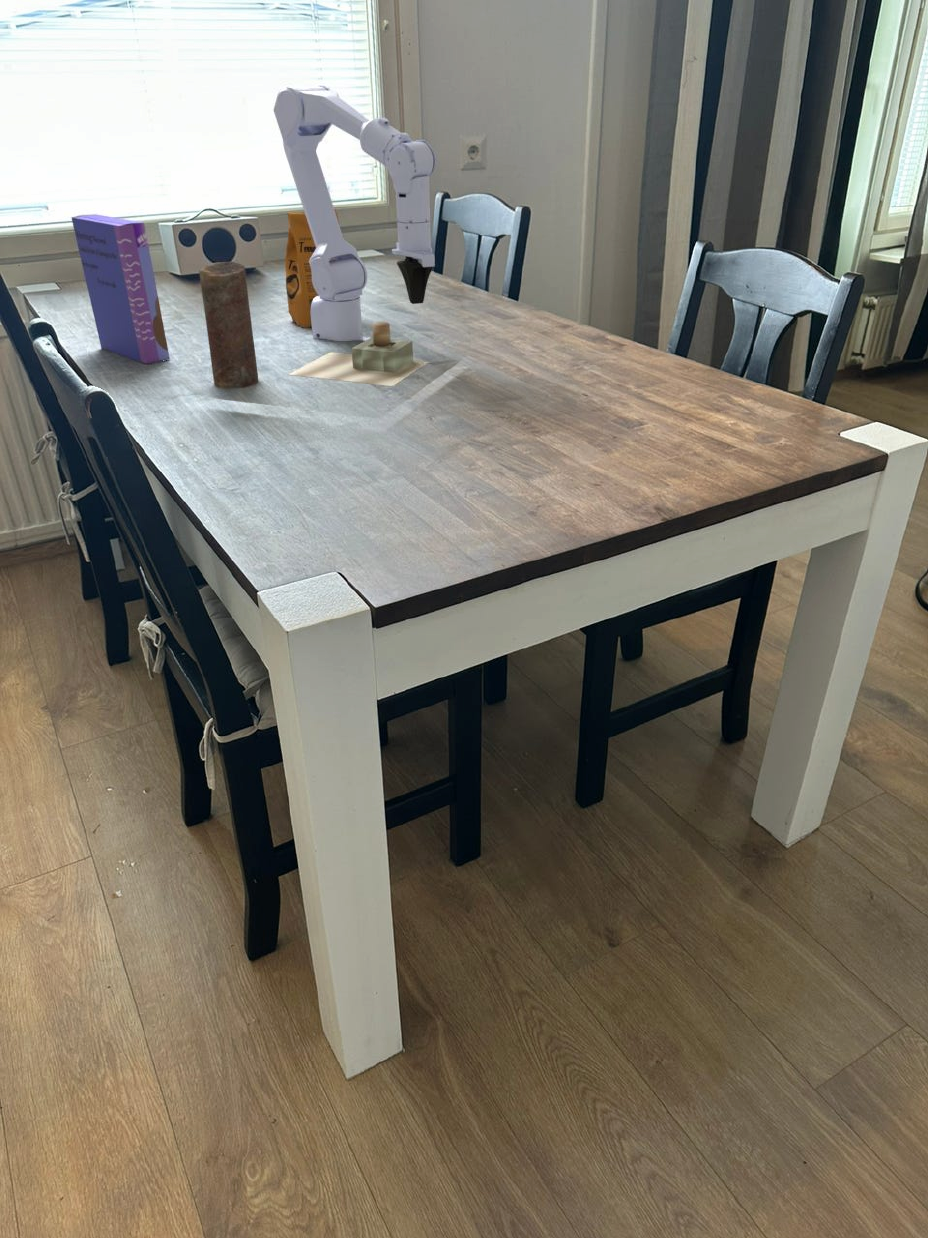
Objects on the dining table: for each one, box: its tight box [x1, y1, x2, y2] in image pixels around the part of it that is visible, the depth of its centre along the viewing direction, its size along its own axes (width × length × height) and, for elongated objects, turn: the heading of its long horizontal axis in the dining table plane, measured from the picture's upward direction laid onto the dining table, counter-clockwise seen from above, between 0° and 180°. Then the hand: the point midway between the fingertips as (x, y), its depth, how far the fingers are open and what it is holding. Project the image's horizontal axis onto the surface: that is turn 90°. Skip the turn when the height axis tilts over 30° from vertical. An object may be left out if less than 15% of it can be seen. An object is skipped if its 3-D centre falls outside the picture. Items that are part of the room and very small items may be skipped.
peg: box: [371, 321, 391, 348], centre depth 153 cm, size 3×3×7 cm
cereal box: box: [71, 213, 170, 366], centre depth 162 cm, size 17×5×24 cm, turn 47°
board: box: [287, 336, 429, 387], centre depth 152 cm, size 20×15×5 cm
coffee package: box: [284, 208, 340, 329], centre depth 183 cm, size 10×12×22 cm
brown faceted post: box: [198, 261, 259, 390], centre depth 142 cm, size 8×7×20 cm
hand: (416, 302), depth 157 cm, fingers closed
